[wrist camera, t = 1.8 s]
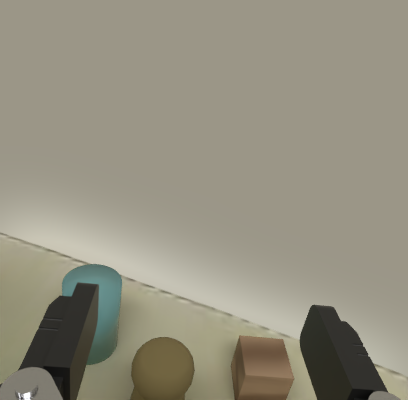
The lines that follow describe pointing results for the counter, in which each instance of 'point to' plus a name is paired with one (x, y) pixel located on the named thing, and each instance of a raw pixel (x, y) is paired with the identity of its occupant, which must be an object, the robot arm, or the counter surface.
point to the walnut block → (261, 369)
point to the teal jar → (100, 306)
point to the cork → (162, 370)
